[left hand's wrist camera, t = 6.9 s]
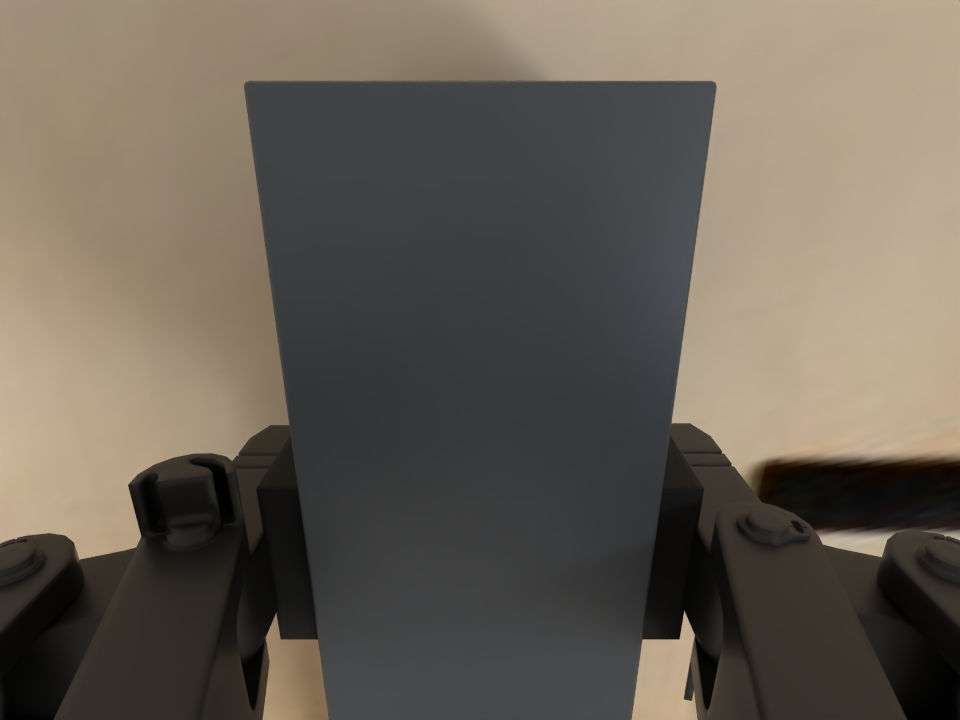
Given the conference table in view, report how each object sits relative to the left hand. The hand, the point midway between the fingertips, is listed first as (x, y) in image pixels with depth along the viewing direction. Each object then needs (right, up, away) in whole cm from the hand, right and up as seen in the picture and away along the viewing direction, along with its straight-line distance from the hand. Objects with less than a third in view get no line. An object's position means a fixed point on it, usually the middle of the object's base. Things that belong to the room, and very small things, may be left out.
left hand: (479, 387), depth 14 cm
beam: (0, -18, +8) cm, 20 cm away
